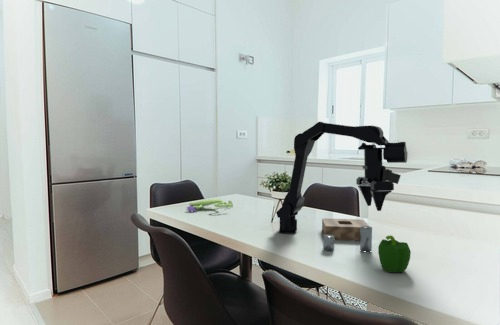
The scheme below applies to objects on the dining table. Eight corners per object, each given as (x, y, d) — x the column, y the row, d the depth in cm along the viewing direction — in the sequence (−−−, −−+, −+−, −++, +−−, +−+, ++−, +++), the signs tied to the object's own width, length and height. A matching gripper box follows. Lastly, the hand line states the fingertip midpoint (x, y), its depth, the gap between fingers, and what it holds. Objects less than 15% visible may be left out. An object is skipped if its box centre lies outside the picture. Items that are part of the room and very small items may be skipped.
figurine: (229, 215, 158) (229, 204, 158) (179, 212, 163) (179, 202, 163) (238, 207, 176) (238, 197, 176) (192, 205, 181) (192, 196, 181)
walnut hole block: (325, 239, 117) (325, 226, 117) (322, 230, 129) (322, 218, 129) (370, 241, 115) (370, 227, 115) (362, 231, 127) (363, 219, 127)
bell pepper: (399, 263, 94) (400, 230, 93) (415, 275, 85) (416, 239, 85) (371, 264, 93) (372, 231, 93) (384, 276, 85) (385, 239, 84)
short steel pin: (323, 251, 105) (323, 237, 104) (322, 247, 108) (322, 234, 108) (334, 251, 104) (335, 238, 104) (333, 247, 108) (333, 235, 108)
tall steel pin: (361, 252, 103) (361, 228, 103) (358, 248, 107) (359, 225, 106) (372, 253, 103) (373, 228, 102) (370, 249, 106) (370, 225, 106)
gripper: (410, 163, 98) (410, 213, 99) (385, 160, 117) (386, 202, 118) (374, 164, 99) (375, 214, 99) (355, 161, 117) (356, 203, 118)
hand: (373, 208), depth 109 cm, fingers open, 9 cm apart
